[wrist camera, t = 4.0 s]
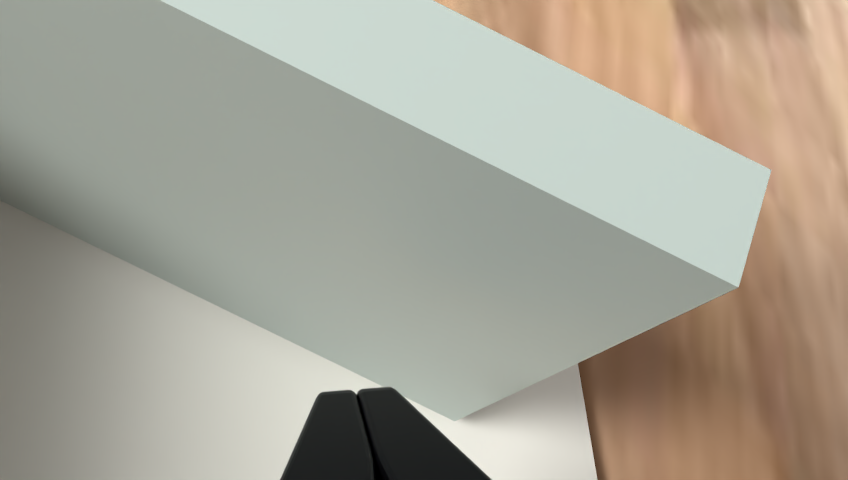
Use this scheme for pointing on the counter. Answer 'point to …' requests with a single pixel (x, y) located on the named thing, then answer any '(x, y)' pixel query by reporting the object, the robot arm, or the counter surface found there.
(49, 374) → the card
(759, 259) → the counter surface
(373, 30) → the hinged panel
